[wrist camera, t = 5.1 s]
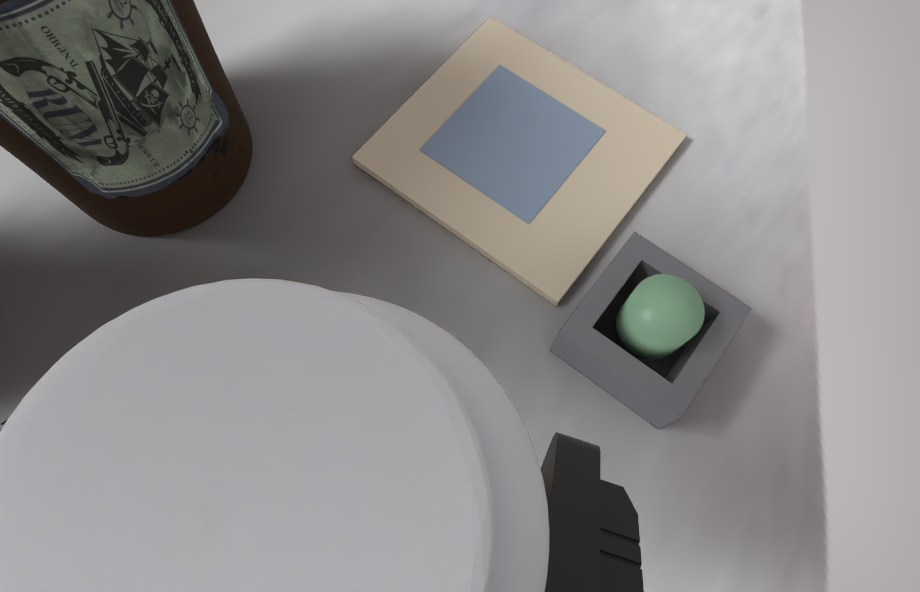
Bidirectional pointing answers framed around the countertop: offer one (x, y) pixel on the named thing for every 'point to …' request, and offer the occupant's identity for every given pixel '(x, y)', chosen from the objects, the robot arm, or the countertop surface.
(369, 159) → the pad
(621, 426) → the countertop surface
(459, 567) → the supplement bottle
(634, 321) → the button
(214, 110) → the brown bottle
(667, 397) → the button housing
